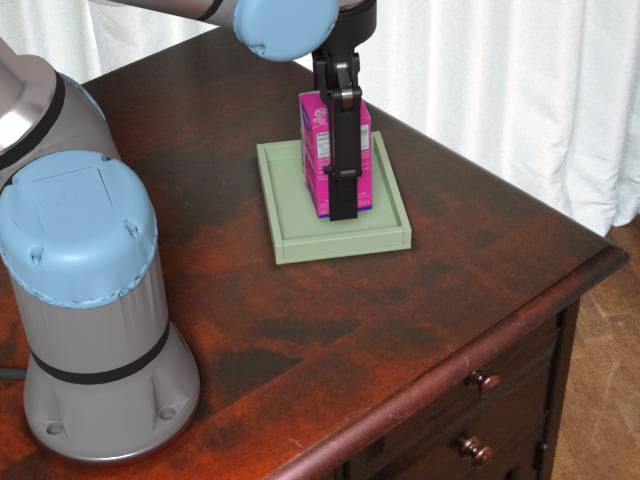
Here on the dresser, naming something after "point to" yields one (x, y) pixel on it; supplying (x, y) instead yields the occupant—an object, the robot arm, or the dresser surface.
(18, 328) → the dresser surface
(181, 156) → the dresser surface
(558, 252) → the dresser surface
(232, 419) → the dresser surface
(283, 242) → the tray
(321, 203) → the supplement box
